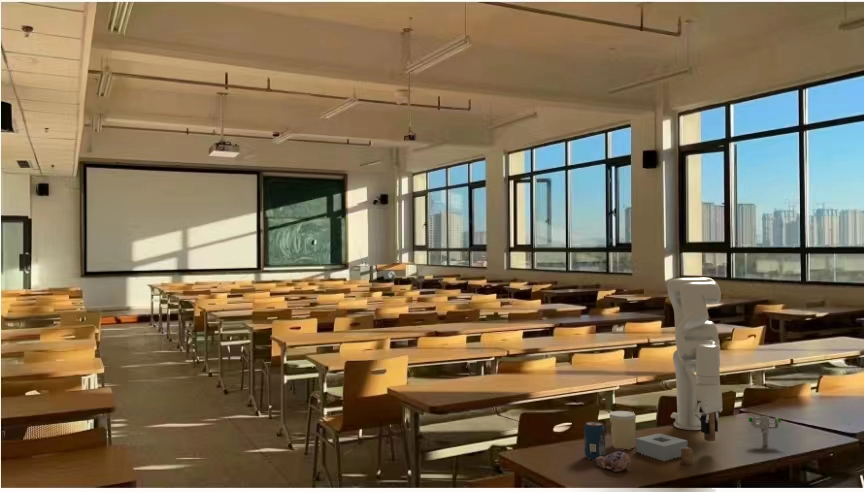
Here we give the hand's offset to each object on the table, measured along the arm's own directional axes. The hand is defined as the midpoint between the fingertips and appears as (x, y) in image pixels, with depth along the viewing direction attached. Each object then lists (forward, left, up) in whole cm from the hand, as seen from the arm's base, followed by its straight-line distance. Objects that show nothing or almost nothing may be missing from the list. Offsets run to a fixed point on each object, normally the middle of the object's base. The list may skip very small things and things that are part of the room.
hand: (709, 431), depth 228 cm
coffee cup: (-23, -18, -8) cm, 30 cm away
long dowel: (0, 0, -3) cm, 3 cm away
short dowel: (+3, -16, -8) cm, 18 cm away
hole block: (-9, -14, -8) cm, 18 cm away
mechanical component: (+5, +24, -8) cm, 26 cm away
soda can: (-19, -36, -8) cm, 41 cm away
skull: (-8, -39, -8) cm, 40 cm away
